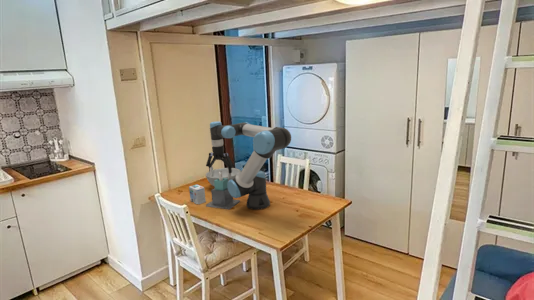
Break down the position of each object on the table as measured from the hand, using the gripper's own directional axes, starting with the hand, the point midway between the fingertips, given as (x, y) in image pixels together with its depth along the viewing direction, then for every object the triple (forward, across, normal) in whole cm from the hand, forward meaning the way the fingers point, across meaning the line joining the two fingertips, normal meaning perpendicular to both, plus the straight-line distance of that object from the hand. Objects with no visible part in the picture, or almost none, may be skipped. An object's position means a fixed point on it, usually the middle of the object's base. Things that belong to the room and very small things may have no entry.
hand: (220, 177), depth 219 cm
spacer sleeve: (+8, 0, 0) cm, 8 cm away
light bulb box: (+19, -20, -1) cm, 28 cm away
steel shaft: (+12, 0, 0) cm, 12 cm away
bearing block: (+19, 0, 0) cm, 19 cm away
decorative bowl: (+19, -18, +30) cm, 40 cm away
